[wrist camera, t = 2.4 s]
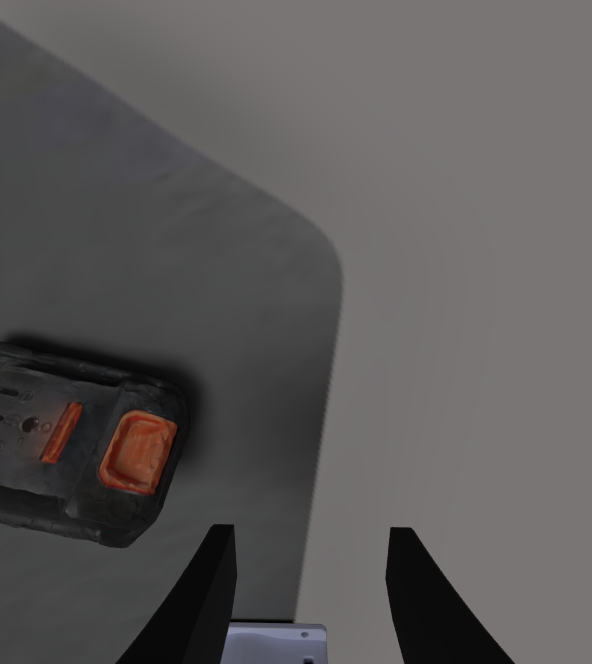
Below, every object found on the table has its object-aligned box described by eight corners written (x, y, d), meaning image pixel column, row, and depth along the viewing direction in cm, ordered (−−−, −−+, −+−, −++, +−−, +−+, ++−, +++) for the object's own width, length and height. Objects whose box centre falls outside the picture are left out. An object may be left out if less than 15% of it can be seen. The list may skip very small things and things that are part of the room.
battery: (210, 425, 22) (203, 371, 17) (143, 579, 17) (101, 577, 12) (34, 369, 23) (-31, 298, 17) (-80, 504, 18) (-223, 467, 12)
